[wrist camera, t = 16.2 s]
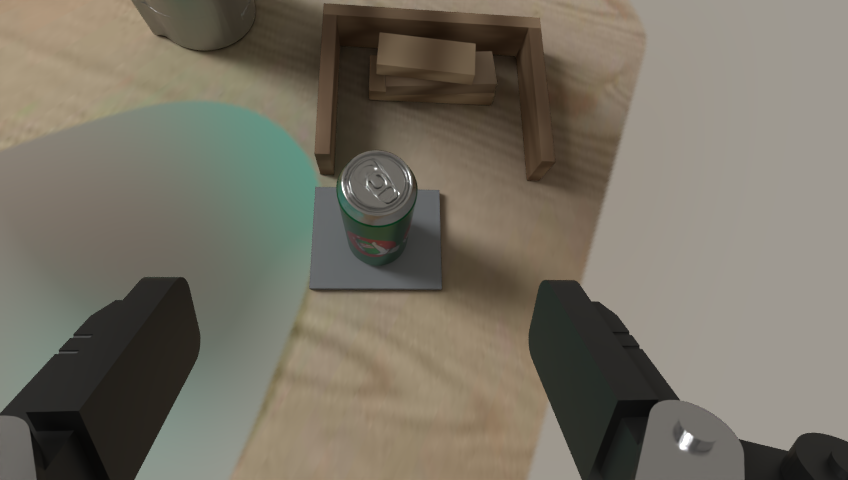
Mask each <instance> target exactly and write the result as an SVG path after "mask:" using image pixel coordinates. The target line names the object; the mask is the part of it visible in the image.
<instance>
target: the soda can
mask: <svg viewBox="0 0 848 480" xmlns="http://www.w3.org/2000/svg"><path fill="white" fill-rule="evenodd" d="M336 193H337V199H338V203H339V207H340V211H341V216H342V220H343V224H344V228H345V232H346V236H347V240H348V244H349V248H350V250H351V252H352V253H353V254H354V256H355V257H356V258H357V259H359V260H360V261H362V262H364V263H366V264H369V265H374V266H381V265H386V264H389V263H391V262H393V261H395V260H396V259H397V258H398V257H400V256H401V254H402V253H403V251H404V249H405V247H406V244H407V240H408V235H409V231H410V226H411V222H412V217H413V213H414V208H415V204H416V199H417V193H418V190H417V182H416V179H415V176H414V174H413V172H412V171H411V169H410V168H409V167H408V166H407V165H406V164H405V162H404V161H403V160H402V159H401V158H399V157H398V156H396V155H394V154H392V153H390V152H387V151H382V150H371V151H366V152H363V153H361V154H359V155H357V156H355V157H354V158H353V159H352V160H351V161H350V162H349V163H348V164H347V165H346V166H345V167H344V168H343V170H342V172H341V173H340V175H339V178H338V181H337V187H336Z"/></svg>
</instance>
